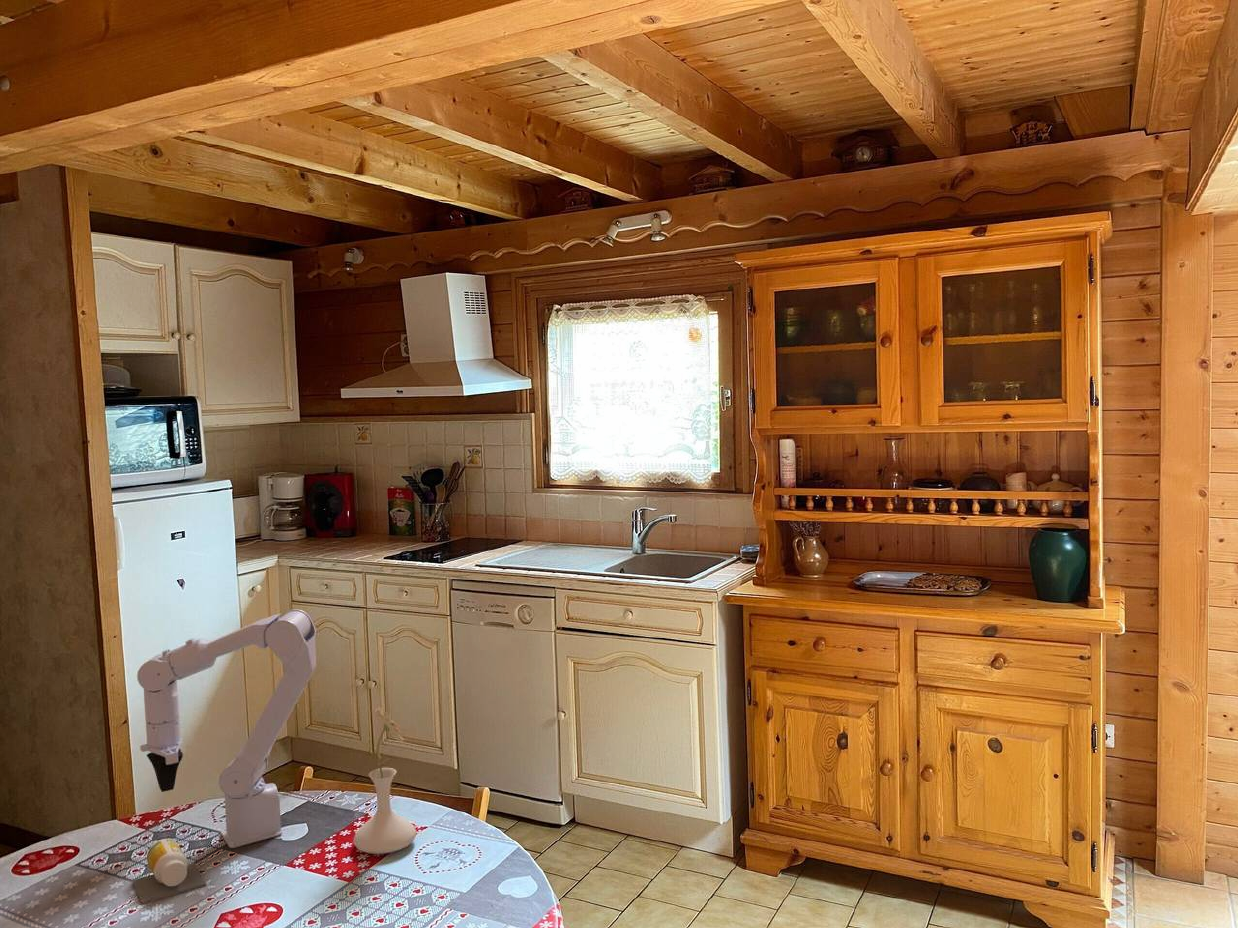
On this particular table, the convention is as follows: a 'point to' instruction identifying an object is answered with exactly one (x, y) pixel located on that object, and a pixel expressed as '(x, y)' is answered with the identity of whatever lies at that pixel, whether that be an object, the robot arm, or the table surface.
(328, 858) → the table surface
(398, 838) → the flower in vase
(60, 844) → the table surface
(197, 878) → the mat
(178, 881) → the supplement bottle
